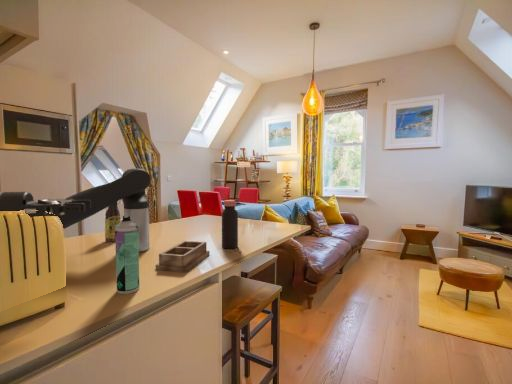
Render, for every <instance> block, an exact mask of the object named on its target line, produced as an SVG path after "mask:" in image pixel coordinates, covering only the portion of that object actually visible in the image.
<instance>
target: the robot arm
mask: <svg viewBox="0 0 512 384" xmlns="http://www.w3.org/2000/svg"><path fill="white" fill-rule="evenodd" d="M151 182H152V177H151V174H150V173H149V172H148V171H147V170H145V169H142V168H129V169H127V170H125V171H124V172H123V173H122V175H121V177H119V178H117V179H115V180H113V181H111V182H108V183H104V184H102V185H101V184H100V185H97V186H93V187H90V188H88V189H85V190H81V191H80V192H77V193H75V194H73V195H70V196H67V197H66V198H47V197H46V198H45V197H44V198H41V199H37V201H35V200H34V196H33V195H32V193H31V192H30V191H0V211H20V210H24V209H25V213H26V214H28V215H29V216H30V217H35V218H36V217H39V216H44V217H50V216H58V217H59V218H60V220H61V222H62V224H63V228H64V229H63V230H65V229H67V228H69V227H71V226H74V225H76V224H77V223H79V222H81V221H82V222H83V220H86V219H87V218H89V217H92V216H95V215H96V214H98V213H99V212H101V211H103V210H105V209H108V207H109V206H110V205H112V204H114V203H115V202H117V201H118V202H119V201H121V200H122V202H123V216H130V219H131V220H132V222H134V223H136V224H137V227H138V247H139V253H140V252H145V251H148V250H150V214H149V213H150V212H149V209H150V208H149V200H148V199H147V196H146V190H147V189H148V188H149V186H150V185H151ZM118 202H117V203H118ZM30 210H38V211H30ZM45 211H47V212H48V213H46V212H45ZM49 212H51V214H49ZM52 213H53V214H52ZM54 214H55V215H54Z"/></svg>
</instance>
